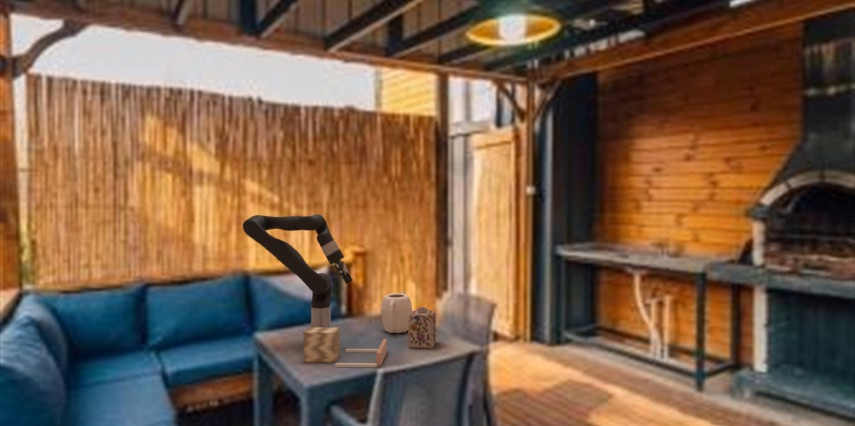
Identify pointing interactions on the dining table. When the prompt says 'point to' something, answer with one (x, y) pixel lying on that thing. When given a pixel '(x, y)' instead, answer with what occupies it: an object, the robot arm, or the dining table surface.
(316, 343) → the wooden block
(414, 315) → the decorative jar
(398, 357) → the dining table surface
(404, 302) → the beige pitcher
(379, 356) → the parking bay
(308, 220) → the robot arm
